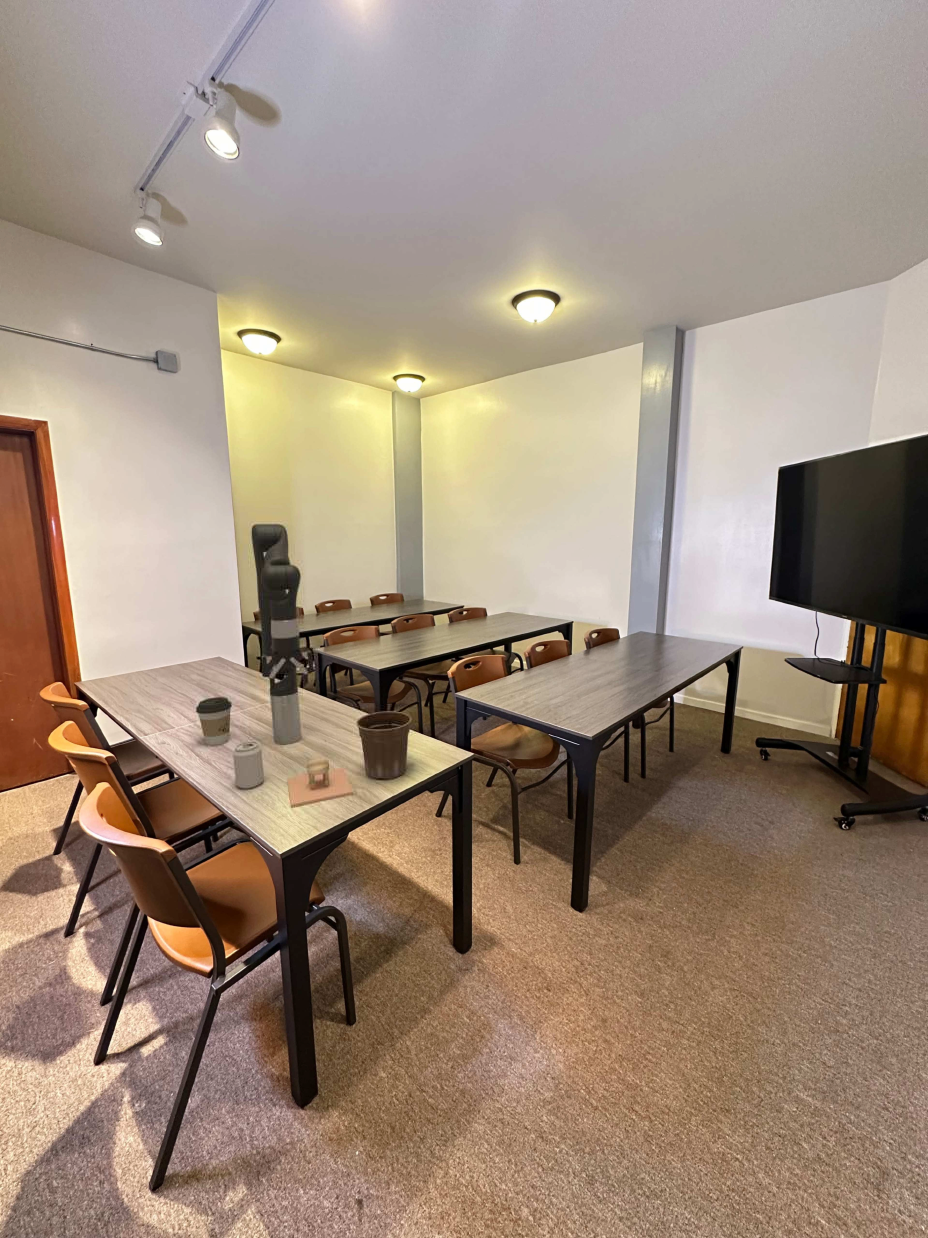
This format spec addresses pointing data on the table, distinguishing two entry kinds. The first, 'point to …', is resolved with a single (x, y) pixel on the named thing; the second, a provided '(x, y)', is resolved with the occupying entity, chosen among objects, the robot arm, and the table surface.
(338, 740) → the table surface
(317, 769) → the stool
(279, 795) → the table surface
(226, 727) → the coffee cup
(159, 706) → the table surface
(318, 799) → the mat
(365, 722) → the plant pot
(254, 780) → the can
